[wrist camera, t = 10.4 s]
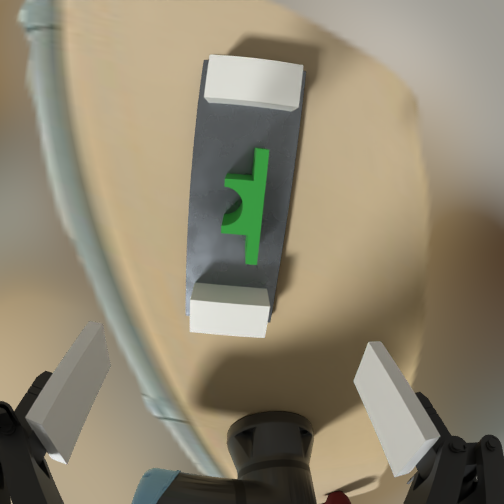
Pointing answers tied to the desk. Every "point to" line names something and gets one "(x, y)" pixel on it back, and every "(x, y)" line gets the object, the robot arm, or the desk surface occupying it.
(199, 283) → the mounting rail
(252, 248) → the pipe clamp
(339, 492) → the mug
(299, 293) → the desk surface
